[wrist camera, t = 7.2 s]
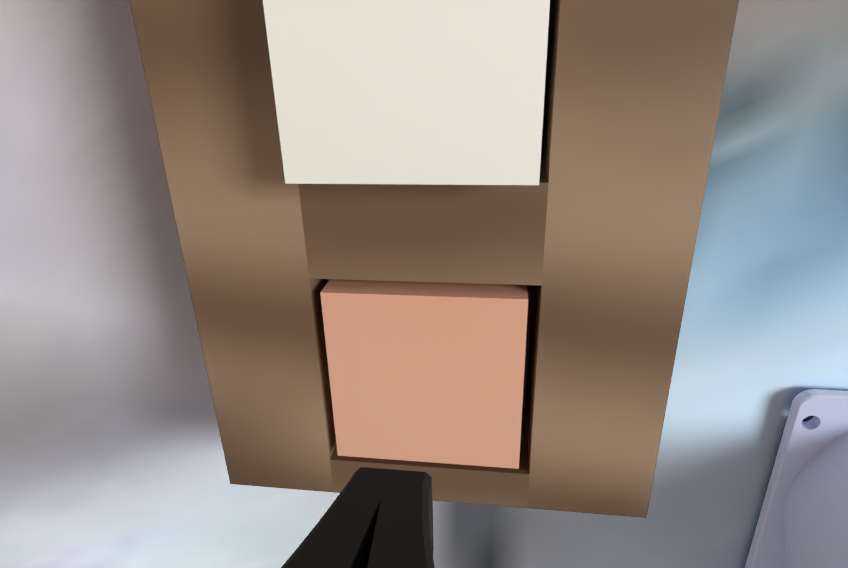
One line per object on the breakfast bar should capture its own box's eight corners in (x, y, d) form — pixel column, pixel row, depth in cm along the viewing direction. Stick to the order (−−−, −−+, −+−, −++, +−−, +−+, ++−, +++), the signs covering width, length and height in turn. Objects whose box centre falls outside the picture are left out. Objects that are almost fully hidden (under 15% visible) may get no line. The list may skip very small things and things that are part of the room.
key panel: (618, 425, 19) (646, 517, 15) (279, 404, 20) (230, 483, 17) (783, -745, 9) (963, -1251, 6) (124, -616, 11) (-67, -948, 7)
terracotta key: (516, 402, 18) (519, 468, 15) (362, 394, 18) (337, 455, 16) (524, 254, 16) (528, 299, 13) (351, 250, 16) (320, 292, 14)
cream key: (531, 156, 13) (538, 184, 10) (328, 155, 14) (285, 183, 11) (545, -93, 11) (558, -139, 8) (307, -80, 12) (248, -117, 9)
